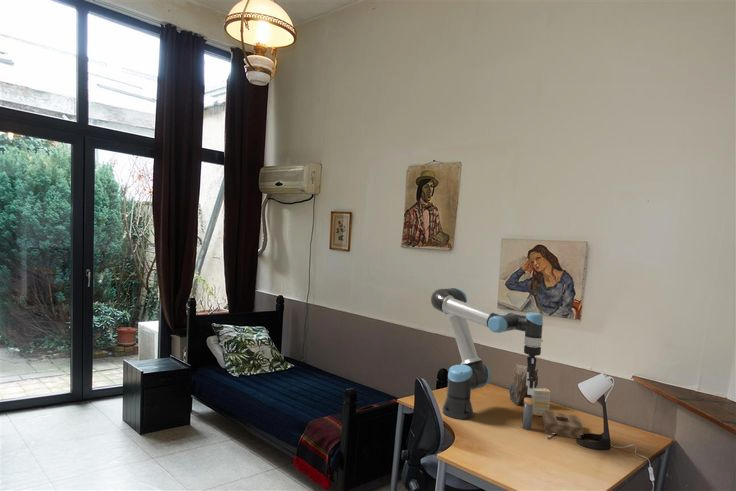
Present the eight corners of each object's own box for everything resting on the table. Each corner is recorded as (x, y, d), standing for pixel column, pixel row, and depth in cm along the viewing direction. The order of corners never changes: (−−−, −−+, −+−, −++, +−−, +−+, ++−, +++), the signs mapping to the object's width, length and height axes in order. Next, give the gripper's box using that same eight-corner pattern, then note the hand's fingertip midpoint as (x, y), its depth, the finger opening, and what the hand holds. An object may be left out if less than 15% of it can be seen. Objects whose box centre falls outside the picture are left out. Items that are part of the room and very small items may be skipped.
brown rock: (507, 397, 258) (509, 362, 257) (529, 398, 259) (531, 363, 258) (516, 406, 245) (519, 369, 245) (539, 406, 246) (541, 370, 246)
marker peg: (522, 429, 214) (524, 399, 214) (522, 425, 218) (524, 396, 218) (531, 430, 213) (533, 401, 213) (531, 427, 217) (533, 398, 217)
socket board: (545, 433, 212) (545, 422, 211) (542, 420, 227) (543, 410, 227) (582, 439, 207) (583, 428, 207) (577, 426, 222) (578, 416, 222)
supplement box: (546, 413, 237) (547, 388, 237) (549, 417, 232) (550, 391, 232) (529, 411, 238) (531, 387, 237) (532, 415, 233) (534, 390, 233)
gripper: (543, 352, 202) (540, 399, 202) (539, 341, 226) (536, 383, 226) (525, 350, 204) (522, 397, 205) (523, 339, 228) (520, 381, 229)
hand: (529, 390), depth 215 cm, fingers open, 13 cm apart
